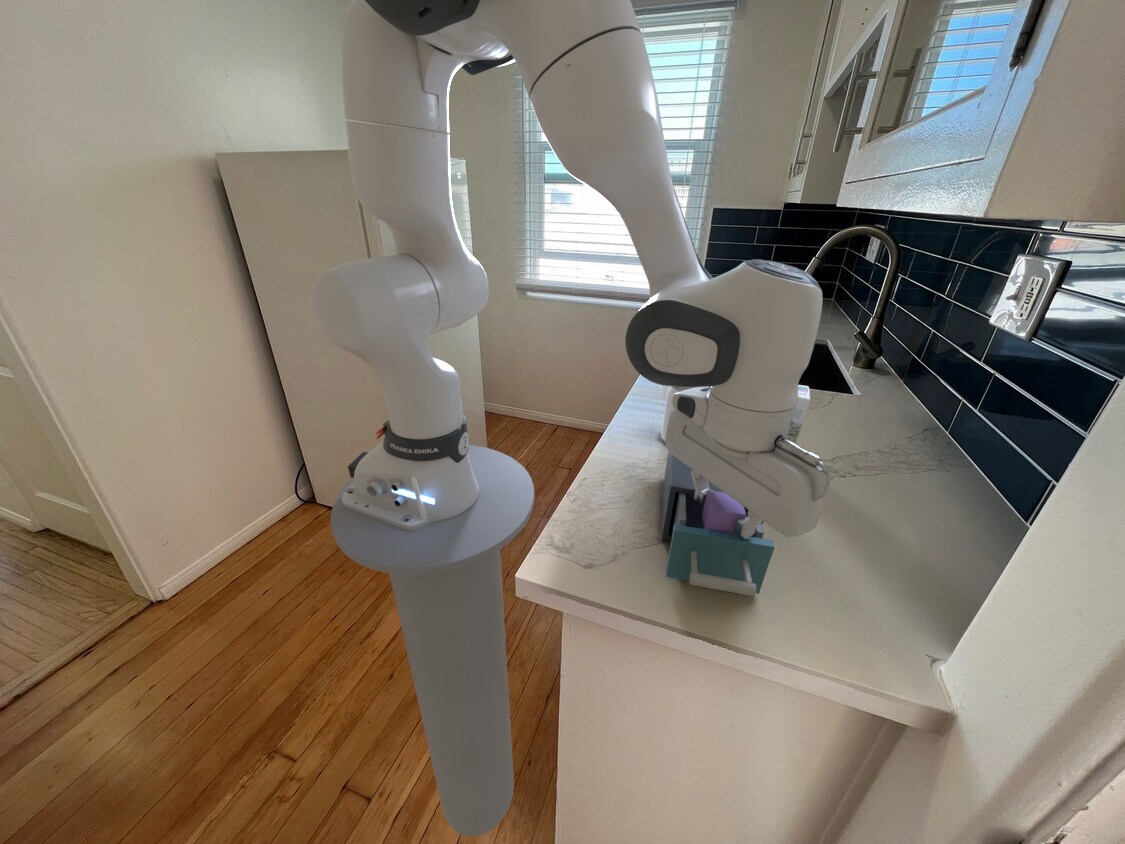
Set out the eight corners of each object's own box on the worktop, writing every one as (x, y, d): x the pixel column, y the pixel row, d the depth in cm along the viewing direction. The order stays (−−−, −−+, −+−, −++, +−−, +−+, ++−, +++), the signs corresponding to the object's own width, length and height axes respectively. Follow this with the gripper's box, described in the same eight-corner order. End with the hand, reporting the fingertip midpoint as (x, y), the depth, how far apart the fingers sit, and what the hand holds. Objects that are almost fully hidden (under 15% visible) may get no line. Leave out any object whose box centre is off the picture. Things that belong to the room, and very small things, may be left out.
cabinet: (752, 555, 62) (769, 500, 57) (661, 539, 64) (670, 486, 60) (739, 493, 74) (752, 444, 70) (663, 482, 77) (671, 434, 72)
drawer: (766, 627, 51) (783, 579, 47) (665, 608, 53) (674, 560, 49) (744, 523, 66) (756, 480, 63) (667, 510, 69) (674, 469, 65)
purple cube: (705, 536, 54) (711, 510, 52) (701, 515, 58) (706, 490, 56) (739, 540, 54) (746, 514, 52) (733, 518, 57) (739, 493, 55)
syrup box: (788, 453, 86) (809, 384, 79) (788, 468, 81) (811, 397, 75) (757, 446, 88) (775, 379, 81) (755, 460, 83) (774, 390, 77)
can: (692, 450, 86) (703, 394, 81) (659, 444, 88) (667, 389, 82) (693, 434, 92) (703, 381, 86) (662, 429, 93) (669, 377, 88)
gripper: (856, 457, 42) (814, 563, 48) (701, 381, 58) (685, 469, 64) (813, 474, 39) (775, 584, 46) (664, 389, 55) (651, 480, 61)
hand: (721, 516), depth 55 cm, fingers closed on purple cube, 5 cm apart
